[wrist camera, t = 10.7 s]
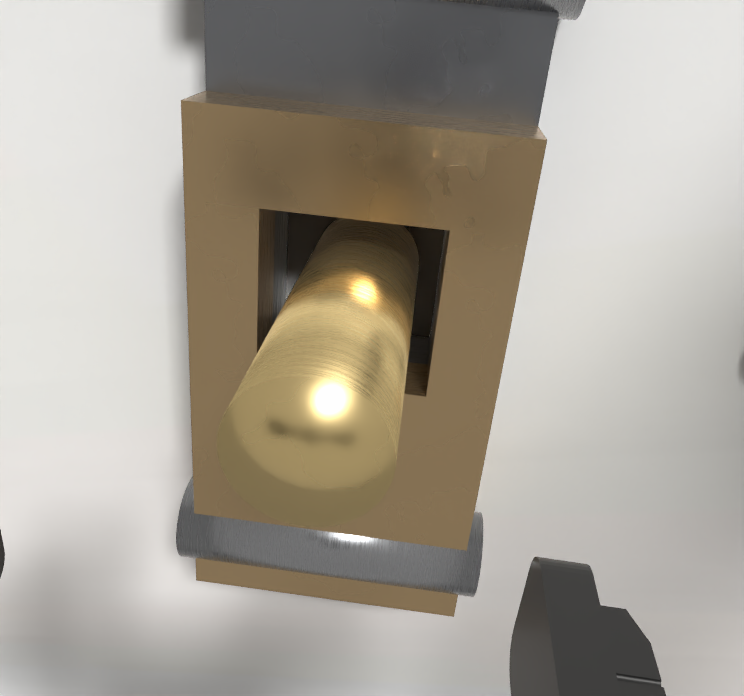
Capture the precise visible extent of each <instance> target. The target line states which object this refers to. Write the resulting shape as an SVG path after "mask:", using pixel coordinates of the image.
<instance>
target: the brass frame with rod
mask: <svg viewBox="0 0 744 696" xmlns="http://www.w3.org/2000/svg"><path fill="white" fill-rule="evenodd" d="M584 3H585V0H204V4H205V64H206V91H204V92H201V93H198V94H196V95H193V96H191V97H188V98H186V99H183V100H181V114H182V145H183V177H184V208H185V239H186V270H187V301H188V332H189V364H190V395H191V426H192V457H193V477H192V479H191V480H190V482H189V484H188V486H187V488H186V490H185V493H184V496H183V499H182V503H181V507H180V511H179V516H178V523H177V533H176V544H177V550H178V553H179V555H180V556H184V557H191V558H196V580H198V581H205V582H213V583H220V584H227V585H234V586H241V587H248V588H255V589H262V590H269V591H276V592H283V593H290V594H297V595H304V596H312V597H319V598H326V599H333V600H340V601H347V602H354V603H361V604H368V605H375V606H382V607H389V608H396V609H403V610H411V611H418V612H425V613H432V614H439V615H446V616H453V617H454V613H455V607H456V602H457V597H458V595H463V596H470V597H474V595H475V593H476V590H477V586H478V581H479V575H480V568H481V559H482V547H483V518H482V514H481V512H474V511H475V505H476V500H477V495H478V490H479V485H480V480H481V475H482V470H483V465H484V460H485V454H486V449H487V444H488V439H489V434H490V429H491V424H492V419H493V414H494V409H495V403H496V398H497V393H498V388H499V383H500V378H501V373H502V368H503V363H504V358H505V352H506V347H507V342H508V337H509V332H510V327H511V322H512V317H513V312H514V307H515V301H516V296H517V291H518V286H519V281H520V276H521V271H522V266H523V261H524V256H525V250H526V245H527V240H528V235H529V230H530V225H531V220H532V215H533V210H534V205H535V199H536V194H537V189H538V184H539V179H540V174H541V169H542V164H543V159H544V154H545V148H546V143H547V139H546V138H545V136H544V135H543V133H542V132H541V130H540V129H539V127H538V123H539V118H540V113H541V107H542V102H543V97H544V91H545V86H546V81H547V75H548V70H549V65H550V60H551V54H552V49H553V44H554V38H555V33H556V28H557V22H558V19H568V20H576V19H577V18H578V17H579V15H580V13H581V11H582V9H583V6H584ZM289 212H294V213H302V214H311V215H320V216H328V217H337V218H346V219H355V220H363V221H372V222H381V223H389V224H398V225H407V226H415V227H424V228H433V229H441V230H445V231H444V238H443V245H442V252H441V259H440V266H439V274H438V281H437V288H436V295H435V302H434V309H433V317H432V324H431V331H430V337H423V336H415V335H411V340H410V349H409V357H408V366H407V374H406V383H405V391H404V400H403V408H402V417H401V425H400V434H399V442H398V451H397V459H396V468H395V473H394V477H393V480H392V483H391V485H390V487H389V489H388V491H387V493H386V494H385V496H384V497H383V498H382V499H381V501H380V502H379V503H378V504H377V505H376V506H375V507H374V508H373V509H371V510H370V511H368V512H367V513H366V514H364V515H362V516H360V517H359V518H357V519H355V520H352V521H349V522H347V523H344V524H339V525H335V526H328V527H303V526H297V525H292V524H288V523H285V522H281V521H278V520H276V519H274V518H271V517H269V516H267V515H265V514H263V513H261V512H260V511H258V510H257V509H255V508H254V507H252V506H251V505H249V504H248V503H247V502H246V501H245V500H244V499H242V498H241V497H240V495H239V494H238V493H237V492H236V491H235V490H234V489H233V487H232V486H231V485H230V483H229V482H228V480H227V478H226V476H225V475H224V473H223V470H222V468H221V465H220V462H219V458H218V454H217V434H218V429H219V425H220V422H221V420H222V418H223V415H224V413H225V412H226V410H227V408H228V406H229V404H230V402H231V401H232V399H233V397H234V395H235V393H236V391H237V390H238V388H239V386H240V384H241V382H242V380H243V379H244V377H245V375H246V373H247V371H248V369H249V368H250V366H251V364H252V362H253V360H254V358H255V357H256V355H257V353H258V351H259V349H260V347H261V346H262V344H263V342H264V340H265V338H266V336H267V335H268V333H269V331H270V329H271V327H272V325H273V324H274V322H275V320H276V318H277V316H278V314H279V313H280V311H281V309H282V307H283V305H284V303H285V298H286V271H287V243H288V215H289Z"/></svg>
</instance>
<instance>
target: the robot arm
mask: <svg viewBox="0 0 744 696" xmlns="http://www.w3.org/2000/svg"><path fill="white" fill-rule="evenodd" d="M4 559H5V552H4V546H3V541H2V536H1V531H0V577H1V574H2V571H3V566H4ZM510 687H511V696H666V694H665V691H664V688H663V687H661V677H660V674H659V670H658V667H657V664H656V660H655V657H654V653H653V650H652V647H651V643H650V642H649V640H648V639H647V638H646V636H645V635H644V634H643V632H642V631H641V629H640V628H639V627H638V625H637V624H636V623H635V621H634V620H633V618H632V617H631V616H630V614H629V613H628V612H627V610H626V609H621V608H614V607H607V606H601V605H600V602H599V598H598V594H597V589H596V585H595V581H594V576H593V573H592V570H591V568H590V566H589V565H587V564H581V563H575V562H568V561H561V560H554V559H547V558H540V557H535V558H534V559H533V561H532V563H531V566H530V570H529V573H528V577H527V581H526V585H525V588H524V592H523V596H522V600H521V603H520V607H519V611H518V615H517V618H516V622H515V626H514V630H513V635H512V641H511V649H510Z"/></svg>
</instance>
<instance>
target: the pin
mask: <svg viewBox="0 0 744 696" xmlns="http://www.w3.org/2000/svg"><path fill="white" fill-rule="evenodd" d="M418 272H419V253H418V249H417V246H416V243H415V241H414V239H413V237H412V236H411V234H410V233H409V231H408V230H407V229H406V228H405V227H404V226H403V225H398V224H389V223H381V222H372V221H363V220H355V219H346V218H338V219H336V220H335V221H334V222H332V223H331V224H330V225H329V226H328V227H327V229H326V230H325V231H324V232H323V234H322V236H321V238H320V239H319V241H318V243H317V245H316V247H315V249H314V250H313V252H312V254H311V256H310V258H309V260H308V261H307V263H306V265H305V267H304V269H303V271H302V272H301V274H300V276H299V278H298V280H297V282H296V283H295V285H294V287H293V289H292V291H291V293H290V294H289V296H288V298H287V300H286V302H285V303H284V305H283V307H282V309H281V311H280V313H279V314H278V316H277V318H276V320H275V322H274V324H273V325H272V327H271V329H270V331H269V333H268V335H267V336H266V338H265V340H264V342H263V344H262V346H261V347H260V349H259V351H258V353H257V355H256V357H255V358H254V360H253V362H252V364H251V366H250V368H249V369H248V371H247V373H246V375H245V377H244V379H243V380H242V382H241V384H240V386H239V388H238V390H237V391H236V393H235V395H234V397H233V399H232V401H231V402H230V404H229V406H228V408H227V410H226V412H225V413H224V415H223V418H222V420H221V422H220V425H219V429H218V434H217V454H218V458H219V462H220V465H221V468H222V470H223V473H224V475H225V476H226V478H227V480H228V482H229V483H230V485H231V486H232V487H233V489H234V490H235V491H236V492H237V493H238V494H239V495H240V497H241V498H242V499H244V500H245V501H246V502H247V503H248V504H249V505H251V506H252V507H254V508H255V509H257V510H258V511H260V512H261V513H263V514H265V515H267V516H269V517H271V518H274V519H276V520H278V521H281V522H285V523H288V524H292V525H297V526H303V527H328V526H335V525H339V524H344V523H347V522H349V521H352V520H355V519H357V518H359V517H360V516H362V515H364V514H366V513H367V512H368V511H370V510H371V509H373V508H374V507H375V506H376V505H377V504H378V503H379V502H380V501H381V499H382V498H383V497H384V496H385V494H386V493H387V491H388V489H389V487H390V485H391V483H392V480H393V477H394V473H395V468H396V459H397V451H398V442H399V434H400V425H401V417H402V408H403V400H404V391H405V383H406V374H407V366H408V357H409V349H410V340H411V332H412V323H413V314H414V306H415V297H416V289H417V280H418Z"/></svg>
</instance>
